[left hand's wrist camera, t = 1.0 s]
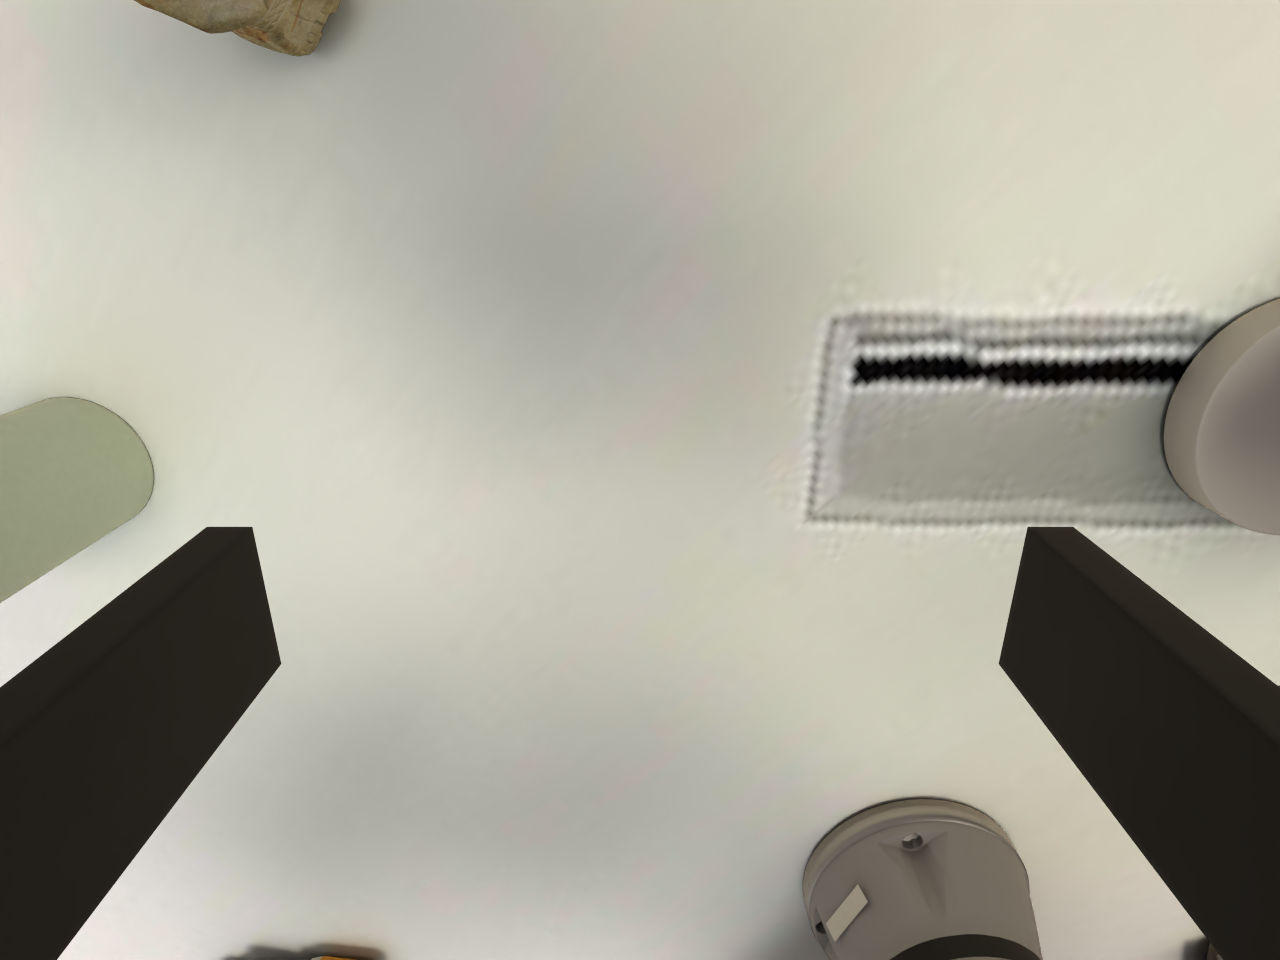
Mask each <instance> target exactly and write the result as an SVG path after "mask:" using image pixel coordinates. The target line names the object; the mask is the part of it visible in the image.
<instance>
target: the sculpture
mask: <svg viewBox="0 0 1280 960" xmlns="http://www.w3.org/2000/svg"><path fill="white" fill-rule="evenodd" d="M135 1H136V2H138V3H139V4H141V5H143V6H145V7H148V8H151V9H153V10H156V11H159V12H161V13H164V14H166V15H168V16H171V17H173V18H175V19H178V20H180V21H182V22H185V23H187V24H189V25H191V26H193V27H195V28H198V29H200V30H202V31H204V32H207V33H223V32H229V31H232V32H234V33H235V34H237V35H238V36H240V37H242V38H244V39H246V40H248V41H250V42H252V43H255V44H257V45H260V46H263V47H265V48H268V49H271V50H274V51H277V52H281V53H285V54H289V55H293V56H303V55H309V54H311V53H312V52H313V50H314V49H315V48H316V46H317V45H318V43H319V42H320V40H321V38H322V32H321V30H322V28H323V26H324V24H325V22H326V20H327V18H328V16H329V14H332V13H334V12H335V11H336V10H337V8H338V6H339V3H340V1H341V0H135Z"/></svg>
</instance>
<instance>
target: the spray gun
mask: <svg viewBox="0 0 1280 960" xmlns="http://www.w3.org/2000/svg"><path fill="white" fill-rule="evenodd" d="M311 960H356V959H347V958H338V957H330V956H322V957H316V958H312V959H311Z"/></svg>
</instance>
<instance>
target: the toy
mask: <svg viewBox="0 0 1280 960" xmlns="http://www.w3.org/2000/svg"><path fill="white" fill-rule="evenodd" d="M1207 960H1223V959H1222V957H1221V956H1220V955H1219V954H1218V952H1217V951H1216V950H1215V948H1214V947H1213V946H1212V944H1211V943H1210V945H1209V950H1208V955H1207Z"/></svg>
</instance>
